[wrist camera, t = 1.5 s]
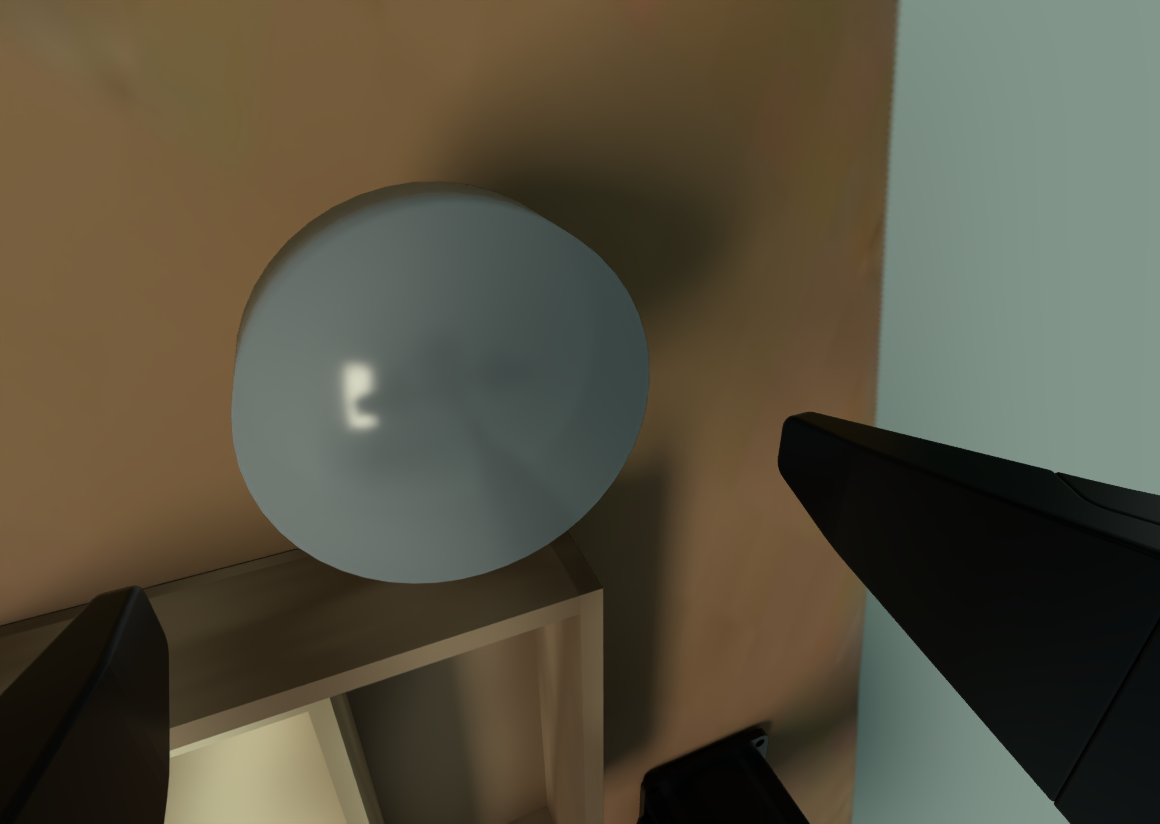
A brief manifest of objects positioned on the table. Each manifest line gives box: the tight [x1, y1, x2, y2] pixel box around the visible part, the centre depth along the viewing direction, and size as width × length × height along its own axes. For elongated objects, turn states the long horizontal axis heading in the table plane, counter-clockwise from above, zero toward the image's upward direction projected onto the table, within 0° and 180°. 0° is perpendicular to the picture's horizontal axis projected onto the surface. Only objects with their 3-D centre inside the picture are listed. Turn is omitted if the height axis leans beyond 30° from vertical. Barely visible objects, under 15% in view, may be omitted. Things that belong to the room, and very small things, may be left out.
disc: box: [231, 182, 650, 584], centre depth 12 cm, size 7×7×2 cm
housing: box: [0, 531, 604, 824], centre depth 20 cm, size 14×16×4 cm
